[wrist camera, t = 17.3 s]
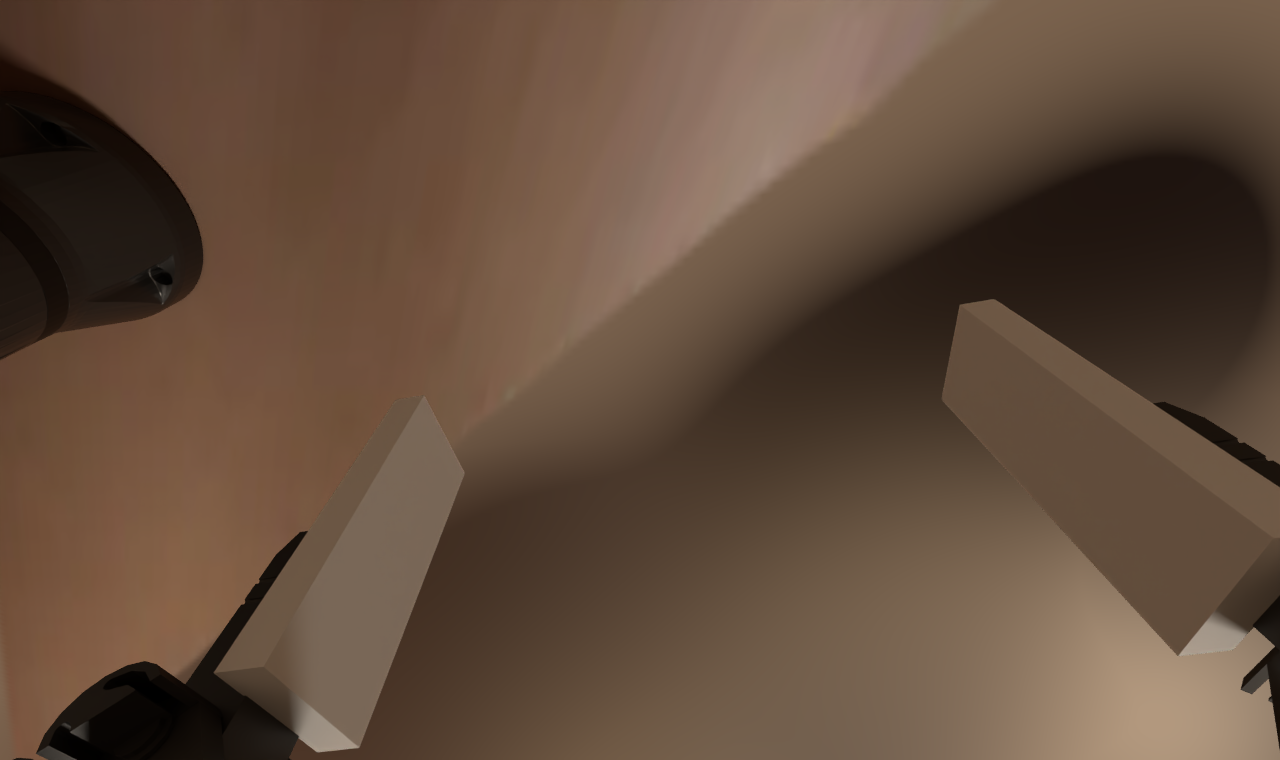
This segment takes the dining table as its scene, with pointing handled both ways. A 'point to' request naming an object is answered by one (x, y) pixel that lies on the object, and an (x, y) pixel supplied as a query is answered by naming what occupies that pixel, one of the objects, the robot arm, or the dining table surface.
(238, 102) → the dining table surface
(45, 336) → the robot arm
